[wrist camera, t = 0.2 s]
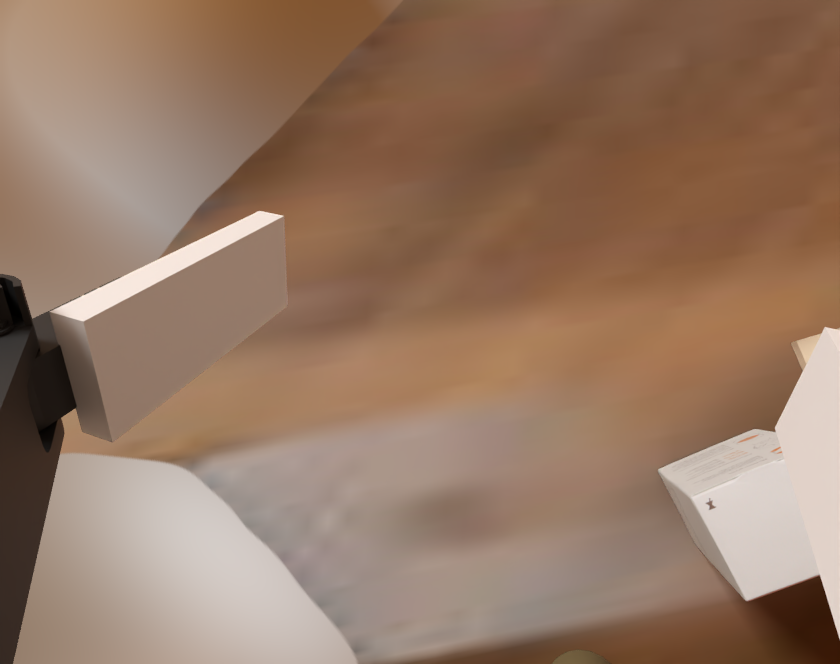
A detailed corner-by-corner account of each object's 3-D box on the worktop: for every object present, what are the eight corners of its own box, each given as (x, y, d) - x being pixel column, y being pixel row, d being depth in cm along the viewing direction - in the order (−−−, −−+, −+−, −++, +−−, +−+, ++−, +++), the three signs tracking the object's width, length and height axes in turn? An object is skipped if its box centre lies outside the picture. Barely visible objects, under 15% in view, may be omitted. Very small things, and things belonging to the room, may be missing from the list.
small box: (696, 547, 44) (744, 606, 31) (655, 468, 45) (685, 494, 33) (802, 506, 42) (898, 550, 30) (757, 426, 44) (830, 436, 31)
